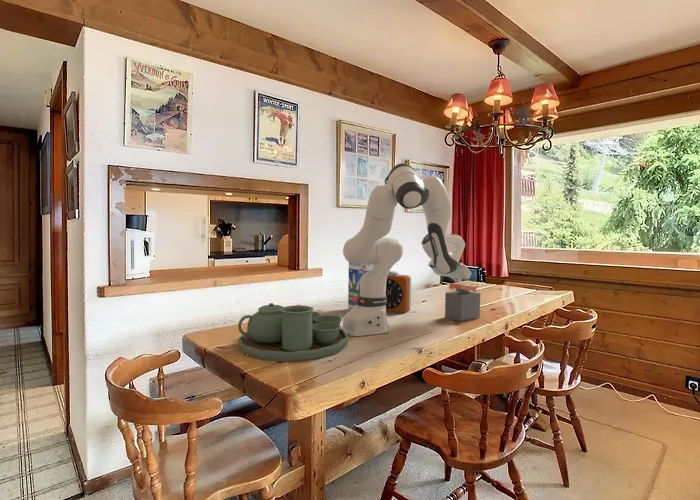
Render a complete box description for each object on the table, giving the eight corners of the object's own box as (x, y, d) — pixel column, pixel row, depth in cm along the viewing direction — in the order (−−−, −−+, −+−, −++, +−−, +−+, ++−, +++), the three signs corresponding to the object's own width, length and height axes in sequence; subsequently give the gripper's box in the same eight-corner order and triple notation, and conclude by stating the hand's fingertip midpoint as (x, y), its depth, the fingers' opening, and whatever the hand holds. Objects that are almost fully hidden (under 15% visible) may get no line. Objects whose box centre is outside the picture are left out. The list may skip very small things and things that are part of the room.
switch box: (461, 321, 189) (461, 295, 189) (445, 317, 198) (445, 292, 197) (479, 317, 197) (480, 293, 196) (463, 313, 205) (464, 290, 204)
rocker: (460, 291, 190) (461, 284, 190) (448, 289, 196) (450, 282, 196) (475, 294, 196) (476, 287, 196) (464, 292, 202) (465, 285, 202)
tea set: (368, 345, 154) (369, 301, 152) (279, 372, 126) (279, 319, 125) (303, 325, 182) (303, 288, 181) (218, 344, 154) (218, 300, 153)
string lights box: (347, 309, 213) (347, 260, 212) (358, 307, 218) (358, 259, 217) (365, 314, 204) (365, 262, 202) (376, 311, 209) (376, 261, 207)
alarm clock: (371, 309, 213) (372, 270, 212) (378, 306, 221) (379, 268, 220) (405, 313, 205) (406, 272, 203) (411, 310, 212) (411, 271, 211)
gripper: (465, 258, 180) (479, 278, 186) (432, 255, 197) (446, 273, 203) (458, 269, 178) (473, 289, 184) (425, 264, 195) (439, 283, 201)
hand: (458, 281), depth 194 cm, fingers closed
